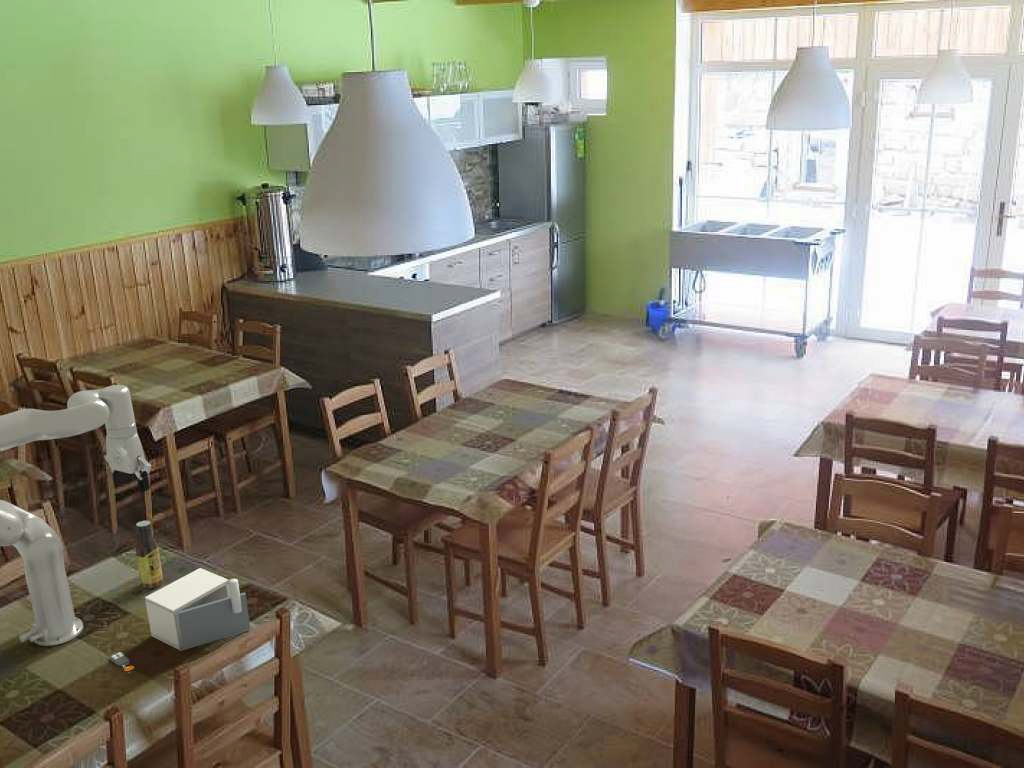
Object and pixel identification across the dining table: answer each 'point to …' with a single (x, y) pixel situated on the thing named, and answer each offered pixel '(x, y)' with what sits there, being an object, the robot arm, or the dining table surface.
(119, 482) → the robot arm
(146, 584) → the sauce bottle
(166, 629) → the case
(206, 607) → the side door
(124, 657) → the key chain
